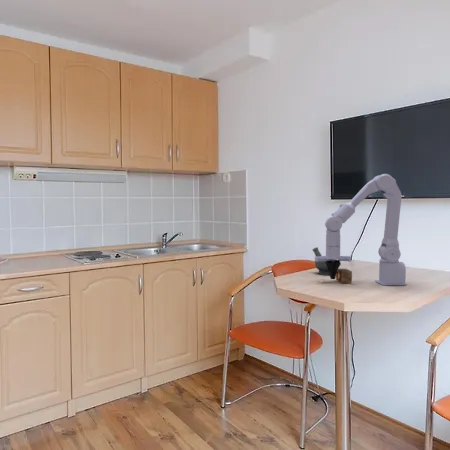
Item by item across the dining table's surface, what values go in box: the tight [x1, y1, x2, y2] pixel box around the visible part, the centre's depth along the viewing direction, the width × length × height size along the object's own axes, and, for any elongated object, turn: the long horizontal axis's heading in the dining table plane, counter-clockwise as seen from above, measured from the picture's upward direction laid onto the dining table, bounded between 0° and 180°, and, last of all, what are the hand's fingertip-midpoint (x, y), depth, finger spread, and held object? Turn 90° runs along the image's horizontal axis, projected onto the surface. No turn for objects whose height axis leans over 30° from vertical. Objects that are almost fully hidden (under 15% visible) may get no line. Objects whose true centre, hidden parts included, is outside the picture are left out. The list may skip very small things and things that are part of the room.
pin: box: [335, 271, 341, 281], centre depth 162 cm, size 6×4×4 cm, turn 91°
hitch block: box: [336, 268, 353, 285], centre depth 162 cm, size 4×7×5 cm, turn 1°
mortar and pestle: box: [312, 247, 332, 276], centre depth 181 cm, size 11×9×12 cm
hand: (332, 278), depth 162 cm, fingers closed
